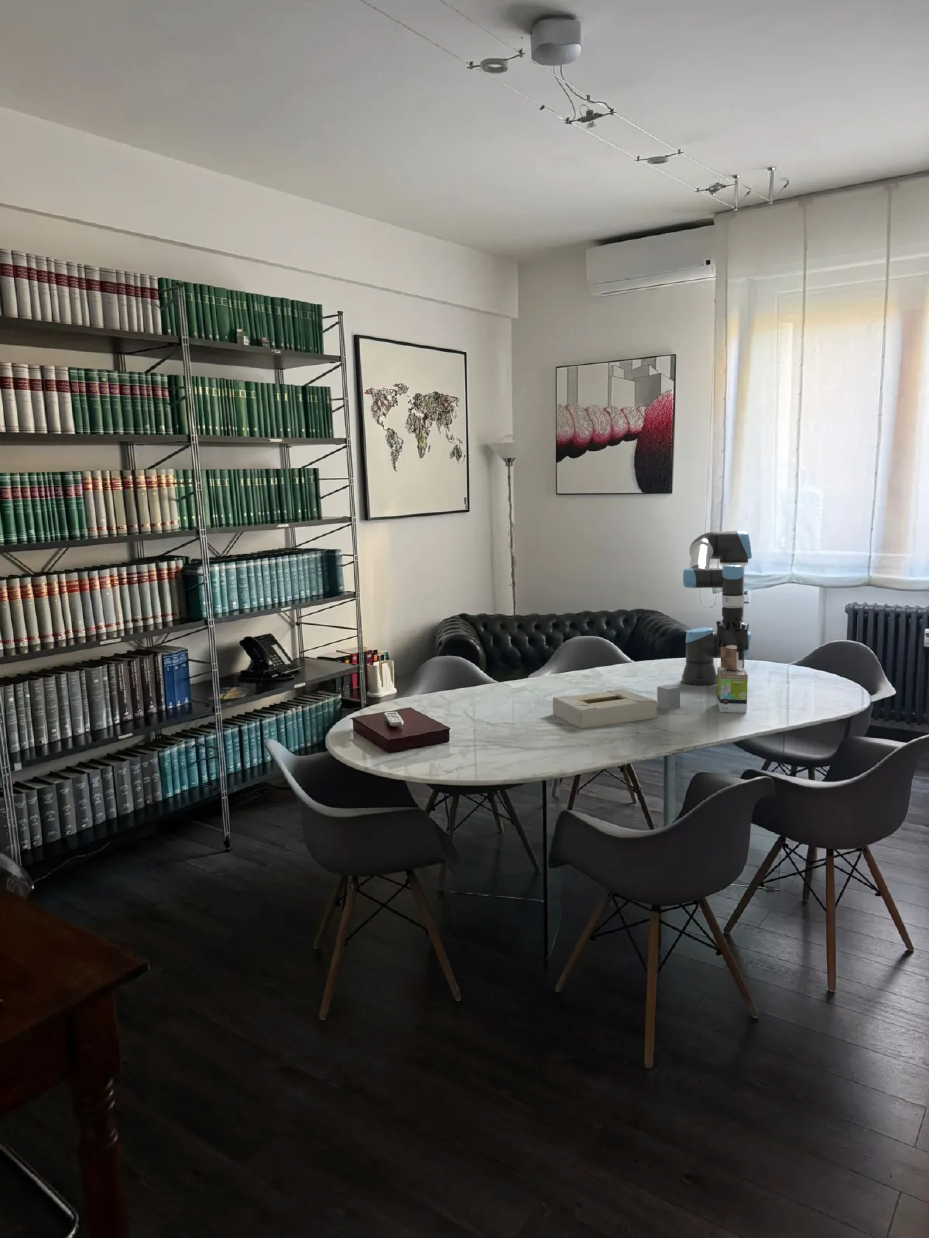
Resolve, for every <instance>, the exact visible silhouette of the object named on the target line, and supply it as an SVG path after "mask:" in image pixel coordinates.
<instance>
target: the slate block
mask: <svg viewBox="0 0 929 1238" xmlns="http://www.w3.org/2000/svg"><path fill="white" fill-rule="evenodd" d="M656 694H657V695H656V697H657V698H656V699H657V700H656V701H657V708H660V709H663V710H675V709H678V708H681V687H680V686H677V685H672V684H664V685H660V686H657V687H656Z"/></svg>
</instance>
